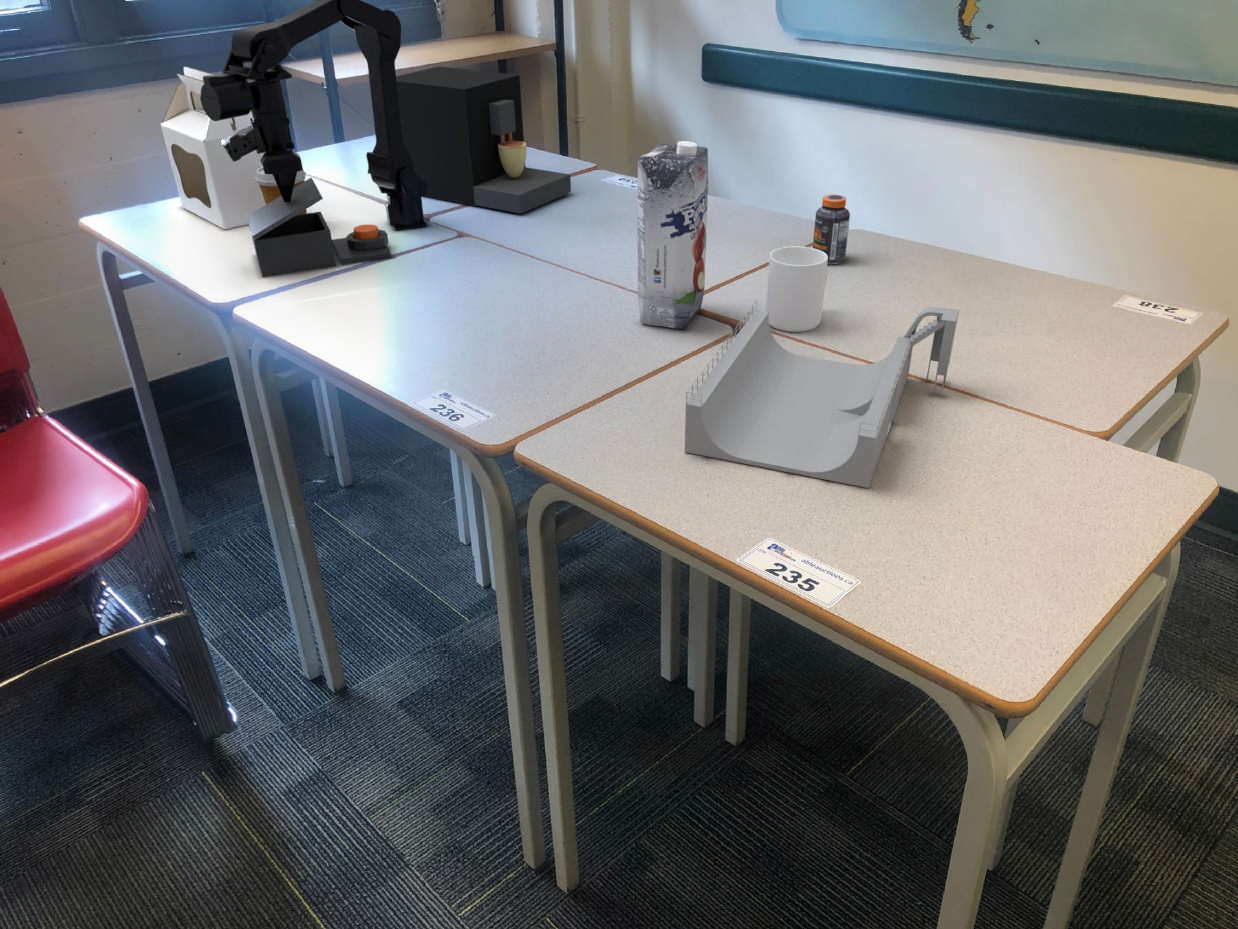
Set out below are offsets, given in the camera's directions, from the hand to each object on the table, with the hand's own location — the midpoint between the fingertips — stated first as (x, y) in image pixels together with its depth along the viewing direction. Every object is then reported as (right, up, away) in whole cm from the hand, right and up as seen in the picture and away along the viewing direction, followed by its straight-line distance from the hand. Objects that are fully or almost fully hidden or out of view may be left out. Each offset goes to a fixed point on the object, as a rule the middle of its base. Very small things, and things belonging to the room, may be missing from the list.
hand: (287, 201), depth 169 cm
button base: (+11, -7, +9) cm, 16 cm away
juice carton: (+67, -24, -19) cm, 74 cm away
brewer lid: (-1, -1, 0) cm, 1 cm away
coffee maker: (+29, +13, +41) cm, 52 cm away
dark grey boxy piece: (0, -9, +6) cm, 11 cm away
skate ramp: (+85, -41, -47) cm, 106 cm away
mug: (+87, -24, -21) cm, 93 cm away
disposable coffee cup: (-7, 0, +21) cm, 22 cm away
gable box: (-23, +7, +32) cm, 40 cm away
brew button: (+12, -4, +8) cm, 15 cm away
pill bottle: (+97, -10, +2) cm, 97 cm away
